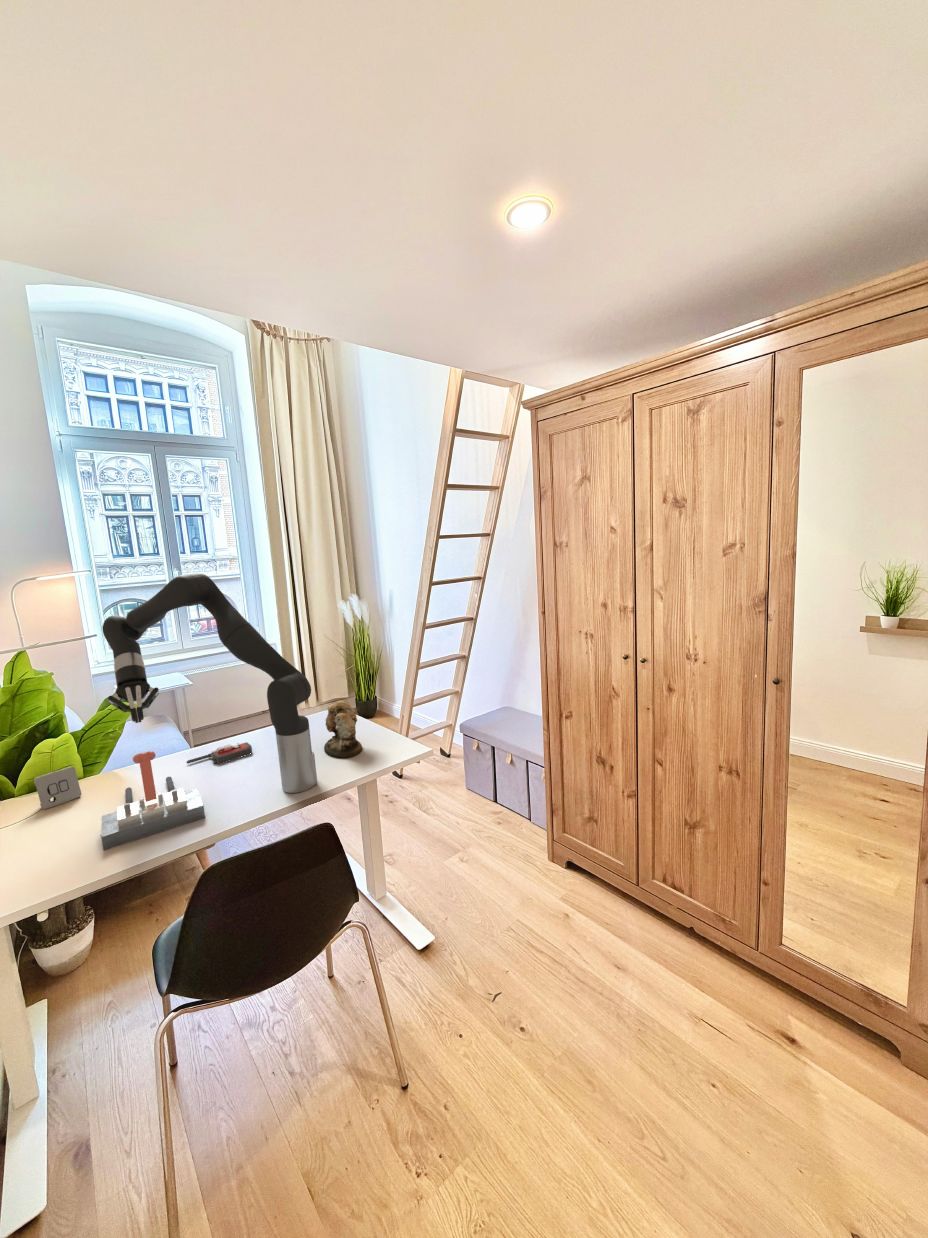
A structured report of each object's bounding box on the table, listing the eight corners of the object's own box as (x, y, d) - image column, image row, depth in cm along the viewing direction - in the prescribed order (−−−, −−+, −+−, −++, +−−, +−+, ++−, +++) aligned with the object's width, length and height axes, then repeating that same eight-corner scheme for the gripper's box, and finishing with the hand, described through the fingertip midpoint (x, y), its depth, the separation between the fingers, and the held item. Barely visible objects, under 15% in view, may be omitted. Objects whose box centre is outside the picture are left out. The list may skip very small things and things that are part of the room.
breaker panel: (198, 799, 142) (194, 773, 141) (205, 817, 132) (201, 789, 131) (104, 828, 130) (99, 800, 128) (103, 850, 120) (97, 820, 119)
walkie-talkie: (248, 746, 179) (186, 765, 166) (246, 735, 178) (184, 752, 166) (256, 754, 173) (192, 773, 160) (255, 741, 172) (190, 760, 159)
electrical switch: (42, 811, 140) (35, 779, 139) (38, 807, 144) (31, 776, 143) (82, 797, 148) (76, 766, 147) (77, 793, 151) (71, 764, 150)
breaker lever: (162, 795, 132) (154, 749, 132) (162, 797, 130) (154, 750, 130) (139, 802, 129) (132, 754, 130) (140, 804, 127) (132, 756, 128)
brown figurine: (315, 746, 175) (311, 699, 173) (347, 737, 182) (343, 692, 180) (337, 762, 161) (332, 711, 159) (370, 751, 168) (366, 703, 166)
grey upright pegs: (173, 779, 155) (172, 771, 155) (180, 805, 139) (179, 796, 139) (123, 793, 148) (122, 785, 148) (125, 822, 132) (123, 813, 132)
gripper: (101, 668, 143) (108, 720, 135) (155, 660, 151) (164, 709, 143) (104, 682, 149) (111, 733, 141) (156, 673, 156) (165, 722, 148)
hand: (138, 721), depth 142 cm, fingers closed
